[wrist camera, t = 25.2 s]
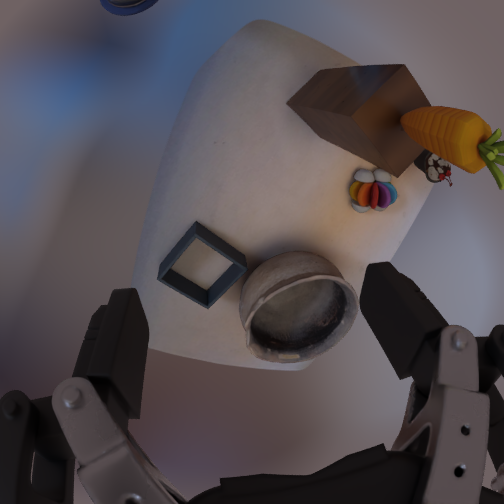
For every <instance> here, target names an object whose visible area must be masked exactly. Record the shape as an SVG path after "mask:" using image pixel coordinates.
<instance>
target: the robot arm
mask: <svg viewBox="0 0 504 504" xmlns="http://www.w3.org/2000/svg"><path fill="white" fill-rule="evenodd" d="M107 1H108V2H109V3H110V4H112V5H113V6H115V7H118V8H131V7H135V6H137V5H140V4H142V3H144V2H145V1H147V0H107ZM359 303H360V309H361V312H362V314H363V316H364V317H365V319H366V320H367V323H368V324H369V326H370V328H371V329H372V331H373V333H374V335H375V336H376V338H377V340H378V341H379V343H380V345H381V347H382V348H383V350H384V352H385V354H386V356H387V357H388V359H389V361H390V363H391V364H392V366H393V368H394V370H395V372H396V374H397V375H398V377H399V379H400V380H401V379H404V378H407V377H410V376H412V378H413V379H414V381H413V382H412V384H411V388H410V393H409V398H408V402H407V407H406V411H405V416H404V420H403V424H402V428H401V431H400V433H399V435H398V436H397V438H396V440H395V442H394V444H393V446H392V449H391V451H386V449H385V446H384V444H383V443H382V444H380V445H377V446H375V447H371V448H369V449H365V450H362V451H359V452H356V453H353V454H350V455H347V456H345V457H344V458H342V459H340V460H338V461H336V462H335V463H333V464H331V465H329V466H327V467H325V468H323V469H321V470H319V471H317V472H315V473H313V474H311V475H276V474H257V475H249V476H240V477H230V478H220V484H221V485H220V486H217V487H214V488H211V489H209V490H206V491H204V492H202V493H200V494H198V495H197V496H195V497H194V498H192V499H191V500H189V501H188V500H187V499H186V498H185V497H184V496H183V495H182V494H181V493H180V492H179V491H178V490H177V489H176V487H175V486H174V485H173V484H172V483H170V481H169V480H168V479H167V478H166V477H165V476H164V475H163V474H162V473H161V472H160V471H159V470H158V468H157V467H156V466H155V465H154V464H153V462H152V461H151V460H150V459H149V457H148V456H147V455H146V453H145V452H144V451H143V449H142V448H141V447H140V446H139V444H138V443H137V442H136V440H135V439H134V438H133V436H132V435H131V433H130V432H129V430H128V419H140V409H141V399H142V389H143V380H144V372H145V364H146V357H147V349H148V342H149V326H148V322H147V319H146V316H145V313H144V310H143V307H142V304H141V301H140V298H139V295H138V292H137V290H136V289H135V288H127V289H114V290H113V292H112V294H111V297H110V300H109V303H108V305H101V306H100V308H99V309H98V310H97V311H96V312H95V313H94V314H93V316H92V318H91V321H90V323H89V326H88V330H87V332H86V335H85V337H84V338H85V340H83V343H82V346H81V349H80V352H79V356H78V359H77V362H76V366H75V369H74V372H73V375H72V378H69V379H66V380H64V381H63V382H62V383H60V384H59V385H58V386H57V388H56V389H55V391H54V393H53V395H52V396H49V397H44V398H39V399H35V400H30V399H29V398H28V397H27V396H26V395H25V394H24V393H23V392H21V391H18V390H14V391H10V392H8V393H6V394H5V395H4V396H3V397H2V398H1V399H0V504H73V493H74V492H73V491H74V468H75V458H76V459H77V461H78V463H79V465H80V468H79V469H77V474H78V477H79V479H80V481H81V483H82V485H83V487H84V488H85V490H86V492H87V493H88V495H89V497H90V498H91V500H92V501H93V503H94V504H504V400H503V398H502V396H501V395H500V393H499V391H498V390H497V388H496V386H495V384H494V383H495V382H496V381H497V379H498V378H499V377H500V376H501V374H502V376H503V377H504V325H496V326H495V327H494V328H493V330H492V331H491V333H490V335H489V336H488V337H474V336H473V334H472V333H471V332H470V331H469V330H467V329H466V328H464V327H462V326H459V325H449V324H448V323H447V322H446V320H445V319H444V318H443V317H442V315H441V314H440V313H439V311H438V310H437V309H436V308H435V307H434V305H433V304H432V303H431V302H430V300H429V299H427V297H426V296H425V294H424V293H423V292H421V291H420V288H419V287H418V286H417V285H416V284H415V283H414V281H412V280H411V279H410V278H408V277H407V276H405V275H403V274H402V273H399V272H398V271H397V270H396V269H395V267H394V266H393V265H392V264H391V263H390V262H388V261H387V262H379V263H372V264H369V265H368V266H367V269H366V273H365V277H364V282H363V286H362V290H361V294H360V300H359ZM487 450H488V452H489V454H490V457H491V459H492V461H493V464H494V467H495V469H496V472H497V476H496V477H494V478H493V480H492V482H491V488H492V489H493V490H494V491H493V490H491V489H488V488H486V487H484V486H482V482H483V476H484V469H485V462H486V454H487ZM34 452H35V457H34V464H33V473H32V485H31V468H32V460H33V453H34ZM496 490H498V492H496Z"/></svg>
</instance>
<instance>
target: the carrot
mask: <svg viewBox="0 0 504 504" xmlns="http://www.w3.org/2000/svg"><path fill="white" fill-rule="evenodd" d="M400 122H401V125H402V127H403V128H404V130H405V132H406V133H407V134H408V135H409V137H410V138H412V139H413V140H414V141H415V142H417V143H418V144H420V145H421V146H422V147H424V148H425V149H427V150H429V151H430V152H432V153H434V154H435V155H437V156H439V157H441V158H442V159H444V160H446V161H448V162H450V163H452V164H453V165H455V166H457V167H459V168H461V169H463V170H465V171H466V172H469V173H473V174H474V173H476V172H477V171H479V170H480V169H482V168H483V167H485V166H486V165H487V167H488V168H489V170H490V171H491V173H492V175H493V177H494V178H495V180H496V182H497V184H498V186H499V189H500V190H502V189H504V175H503V173H502V172H501V170H500V169H499V168H498V167H497V166H496V164H495V163H497V164H500V165H503V166H504V156H501V155H497V154H498V153H504V141H500V142H496V141H497V140H498V139H499V138H500V137H501V134H502V133H501V130H500V129H499V128H498V129H497V130H496V131H495V132H494V133H493V134H492V131H491V128H490V126H489V125H488V124H487V123H486V122H485V121H484V120H483V119H482V118H481V117H480V116H478V115H477V114H476V113H473V112H470V111H466V110H461V109H456V108H450V107H443V106H430V107H421V108H418V109H415V110H412V111H410V112H408V113H406V114H404V115H403V116H402V117H401V119H400ZM494 162H495V163H494Z"/></svg>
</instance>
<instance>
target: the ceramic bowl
mask: <svg viewBox="0 0 504 504" xmlns="http://www.w3.org/2000/svg"><path fill="white" fill-rule="evenodd" d="M239 312H240V317H241V321H242V324H243V327H244V329H245V331H246V347H247V348H248V349H249V351H250V352H251V354H253V355H254V356H255V357H257V358H259V359H262V360H266V361H270V362H278V363H296V362H302V361H307V360H310V359H313V358H315V357H317V356H319V355H321V354H323V353H324V352H326V351H328V350H329V349H331V348H332V347H333V346H335V345H336V344H337V343H338V342H339V341H340V340H341V339H342V338H343V337H344V336H345V335H346V333H347V332H348V331H349V330H350V328H351V326H352V324H353V322H354V320H355V318H356V315H357V312H358V297H357V294H356V292H355V290H354V289H353V287H352V286H351V285H350V284H349V283H348V282H346V281H345V280H344V278H343V276H342V275H341V273H340V272H339V270H338V269H337V268H336V267H335V266H334V265H333V264H332V263H331V262H330V261H329V260H327V259H325V258H324V257H322V256H319V255H316V254H313V253H309V252H301V251H293V252H286V253H282V254H279V255H276V256H274V257H272V258H270V259H268V260H266V261H265V262H263V263H262V264H261V265H259V266H258V267H257V268H256V269H255V270H254V271H253V272H252V274H251V275H250V276H249V278H248V279H247V280H246V282H245V284H244V286H243V288H242V292H241V297H240V305H239Z"/></svg>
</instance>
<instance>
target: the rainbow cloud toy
mask: <svg viewBox="0 0 504 504" xmlns="http://www.w3.org/2000/svg"><path fill="white" fill-rule="evenodd" d="M354 178H355V179H356V180H357V181H355V182H354V183H353V184H352V185H351V187H350V189H349V192H350V196H351V197H352V198H353V199H354V200H352V207H353V208H354V210H355V211H357V212H359V213H365V212H367V211H368V210H369V209H370V207H371V208H372V209H374V210H376V211H383V210H385V209H386V208H387V207H388V206H389V205H391V204H392V203H394V202H395V200H396V199H397V191H396V189H395V187H394V186H393V185H392V184H391V183H390V181H391V175H390V173H388V172H386V171H384V170H383V169H377V170H375V171H374V172H373V174H372V172H371V171H369V170H366V169H361V170H358V171H357V172H356V174H355V176H354Z"/></svg>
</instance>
